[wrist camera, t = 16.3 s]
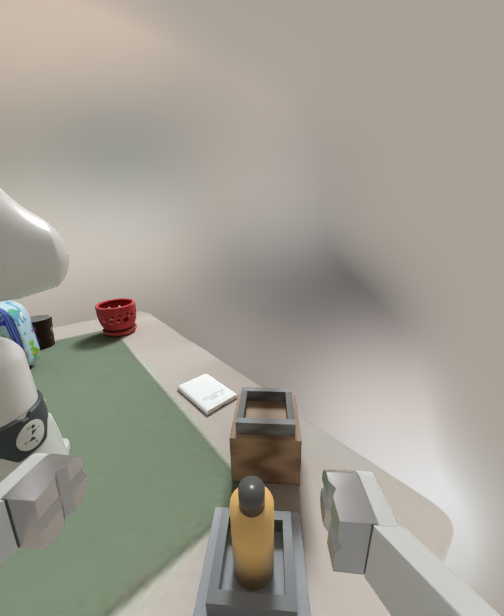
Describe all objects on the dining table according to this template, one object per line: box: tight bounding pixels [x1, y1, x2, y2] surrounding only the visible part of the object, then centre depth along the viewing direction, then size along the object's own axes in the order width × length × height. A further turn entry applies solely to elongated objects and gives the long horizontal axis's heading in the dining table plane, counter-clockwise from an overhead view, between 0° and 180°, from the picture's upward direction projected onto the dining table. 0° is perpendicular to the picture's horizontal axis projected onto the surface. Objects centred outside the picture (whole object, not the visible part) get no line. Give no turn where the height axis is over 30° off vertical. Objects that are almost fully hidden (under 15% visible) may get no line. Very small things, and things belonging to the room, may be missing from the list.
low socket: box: [193, 507, 310, 616], centre depth 27 cm, size 11×11×3 cm
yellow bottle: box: [230, 476, 274, 591], centre depth 26 cm, size 4×4×11 cm
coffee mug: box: [30, 314, 55, 350], centre depth 83 cm, size 12×9×10 cm
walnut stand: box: [230, 387, 301, 485], centre depth 40 cm, size 10×10×10 cm
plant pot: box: [95, 298, 137, 336], centre depth 94 cm, size 13×13×12 cm
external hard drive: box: [178, 374, 237, 415], centre depth 58 cm, size 2×8×12 cm
